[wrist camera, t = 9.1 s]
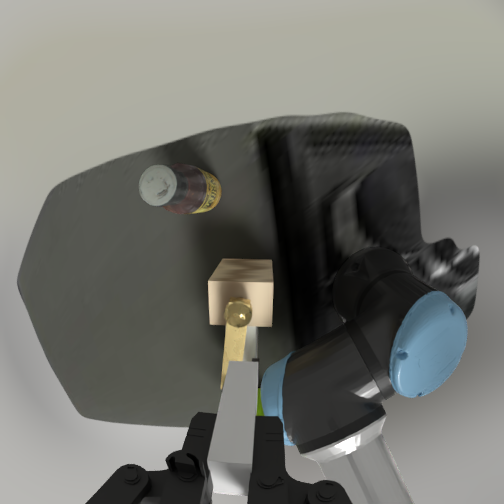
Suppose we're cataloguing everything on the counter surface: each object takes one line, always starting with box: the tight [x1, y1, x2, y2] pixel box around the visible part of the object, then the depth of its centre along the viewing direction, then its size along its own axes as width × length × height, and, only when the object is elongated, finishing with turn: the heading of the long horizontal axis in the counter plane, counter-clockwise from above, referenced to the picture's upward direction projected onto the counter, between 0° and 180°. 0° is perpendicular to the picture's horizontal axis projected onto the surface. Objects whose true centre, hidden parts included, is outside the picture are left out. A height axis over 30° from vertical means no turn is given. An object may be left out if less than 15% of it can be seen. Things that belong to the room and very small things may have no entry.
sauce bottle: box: [139, 163, 222, 214], centre depth 34 cm, size 7×6×20 cm
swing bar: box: [221, 297, 253, 391], centre depth 33 cm, size 13×3×3 cm, turn 173°
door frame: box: [208, 259, 273, 381], centre depth 41 cm, size 8×20×15 cm, turn 179°
